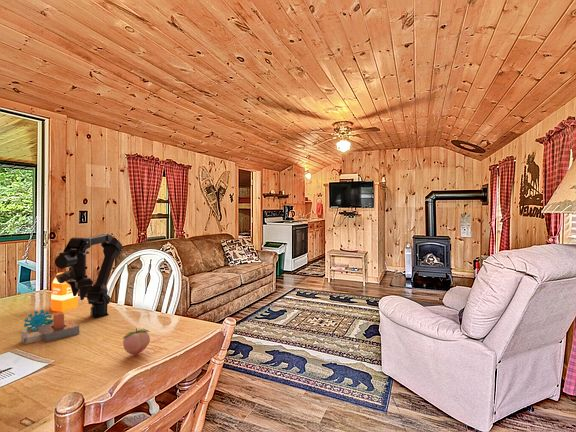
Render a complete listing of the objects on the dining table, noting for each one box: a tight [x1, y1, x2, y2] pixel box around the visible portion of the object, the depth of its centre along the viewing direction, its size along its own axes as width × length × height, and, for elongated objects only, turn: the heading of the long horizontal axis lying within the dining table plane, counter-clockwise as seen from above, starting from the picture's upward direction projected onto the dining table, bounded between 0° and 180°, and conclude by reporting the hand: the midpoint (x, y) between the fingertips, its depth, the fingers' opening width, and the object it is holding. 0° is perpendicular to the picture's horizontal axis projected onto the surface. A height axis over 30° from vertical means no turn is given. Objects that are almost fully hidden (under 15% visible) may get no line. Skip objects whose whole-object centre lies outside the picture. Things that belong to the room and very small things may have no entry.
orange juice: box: [50, 271, 79, 313], centre depth 169 cm, size 8×9×20 cm
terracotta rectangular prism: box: [52, 312, 65, 329], centre depth 135 cm, size 3×3×9 cm
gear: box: [23, 309, 53, 333], centre depth 143 cm, size 11×6×10 cm
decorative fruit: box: [122, 328, 151, 356], centre depth 119 cm, size 9×8×10 cm
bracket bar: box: [21, 328, 43, 346], centre depth 128 cm, size 6×4×5 cm, turn 141°
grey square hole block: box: [36, 319, 80, 343], centre depth 136 cm, size 12×12×4 cm
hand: (78, 298), depth 145 cm, fingers open, 9 cm apart
